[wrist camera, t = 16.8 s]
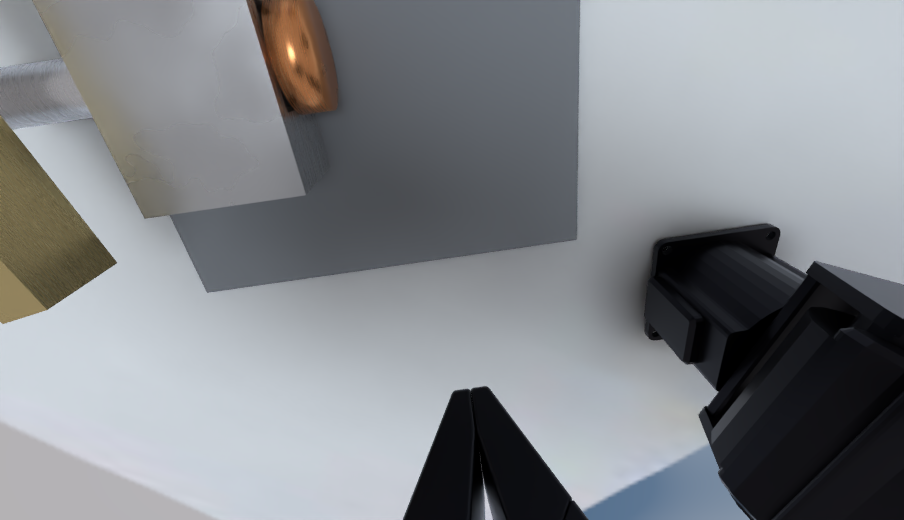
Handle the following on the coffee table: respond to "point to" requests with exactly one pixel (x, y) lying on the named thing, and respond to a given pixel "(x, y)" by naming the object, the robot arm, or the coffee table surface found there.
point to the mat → (420, 145)
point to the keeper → (39, 237)
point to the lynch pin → (289, 47)
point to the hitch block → (187, 101)
